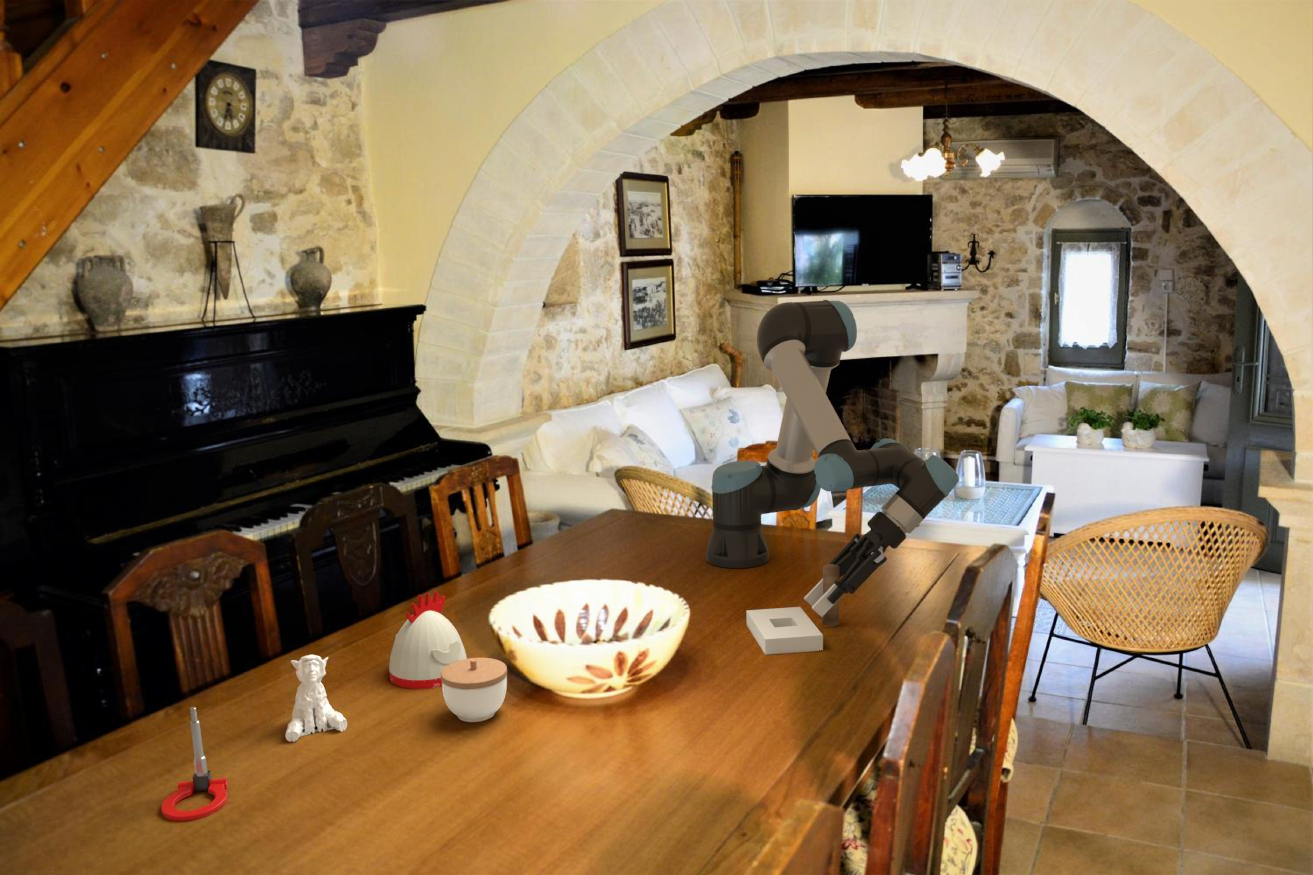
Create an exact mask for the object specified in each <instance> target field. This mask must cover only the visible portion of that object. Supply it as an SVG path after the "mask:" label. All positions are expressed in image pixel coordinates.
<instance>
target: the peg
mask: <svg viewBox="0 0 1313 875" xmlns="http://www.w3.org/2000/svg"><path fill="white" fill-rule="evenodd" d="M839 569H840V567H839V566H838V565H835V564H829V563H828V564H824V565H823V566H822V578H823V595H824V594H825V593H826V592H827V591H828V590H829V588H830V587H831V586H832V585H833V584H835V583H834V582H835V581H838V582H839V581H840V578H839ZM835 585H836V584H835ZM823 624H824V625H826V626H837V625H839V626H840V599H839V600H838V601H837V602H836V603H835V604H834V605H833V606H832V607H831V608H830V609H829V610H828V611H827V613H826V614H825V615H824V616H823V617H822V625H823ZM824 625H823V626H824ZM826 626H825V627H826ZM837 627H838V626H837Z"/></svg>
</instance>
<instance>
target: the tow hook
mask: <svg viewBox="0 0 1313 875" xmlns="http://www.w3.org/2000/svg"><path fill="white" fill-rule="evenodd" d="M189 711H190V719H191V721H190V723H189V724H190V730H191V738H192V747H193V753H194V758H193V764H194V774H193V775H192V780H191V781H180V782H178V784H177V790H176V791H174V792H173V793H171V794H170V795H168V796H167V797H166V799H165V800H164V801H163V802H162V804H161V814H162V816H163V817H164V818H165V819H167V820H169V821H175V822H186V821H187V822H188V821H194V820H198V819H202V818H205V817H208V816H210V815H212V814H214V813H216V812H217V811H219V810H220V809H221V808H223V806H225V804H226V803H227V801H228V790H227V788H229V779H228V778H227V777H223V778H212V770H208V766H207V765H208V764H207V758H206V756H205V754H204V753H205V752H204V748H203V740H202V731H201V723H200V720H199V719H198V713H197V707H196V706H191V707H190V708H189ZM194 792H196V793H197V792H199V793H200V792H208V794H209V795H212V796H214V799H213V800H212V801H211V802H210V803H209V804H207V805H205V806H203V807H199V808H197V809H193V810H178V809H177V808H175V805H176V804H177V803H178V802H180V801H181V800H183V799H185V798H188V797H190V796H191V795H193V793H194Z"/></svg>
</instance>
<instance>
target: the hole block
mask: <svg viewBox="0 0 1313 875" xmlns="http://www.w3.org/2000/svg"><path fill="white" fill-rule="evenodd" d="M745 614H746V626H747V628H748V629H749V631H750V633H751V634H752V636H753V637H754V639H755V641H756V642H757V644H758V645H759V647H760V648H761V650H762V652H763V653H764V655H779V654H781V655H782V654H790V653H791V654H794V653H805V652H808V653H809V652H820V651H821V650H822V651H824V635H823V633H822V632H821V631H820V630H819V629H818V627H817V626H816V625H815V623H814V622H813V621H812V620H811V618H810V617H809V616H808V615H807V614H806V612H805V611H804V610H803V608H802V607H801V606H796V607H795V606H793V607H780V608H776V607H775V608H762V609H750V610H746V612H745ZM819 650H820V651H819Z"/></svg>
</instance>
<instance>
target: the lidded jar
mask: <svg viewBox="0 0 1313 875" xmlns="http://www.w3.org/2000/svg"><path fill="white" fill-rule="evenodd" d="M507 675H508V667H507V665H506V664H505V663H504V662H503V661H501V660H498V659H496V658H490V657H470V658H467V659H464V660H459V661H456V662H453V663H451V664H449V665H447V666H446V667H444V668H443V670H442V671H441V681H442V686H441V688H442V695H443V698H444V702H445V704H446V706H447V708H448V709H449V710H450V712H451V713H452V714H454V715H456V717H457V718H458V719H459V720H460V721H462V722H466V723H479V722H480V723H481V722H484V721H487V720H489V719H491V718H493V717H494V716H495V714H496V712H497V711H498V710H499V709H500V707H501V706H502V704H503V703H504V701H505V698H506V694H507V687H508V678H507V677H508V676H507Z"/></svg>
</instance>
